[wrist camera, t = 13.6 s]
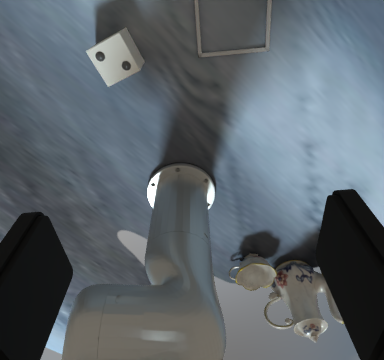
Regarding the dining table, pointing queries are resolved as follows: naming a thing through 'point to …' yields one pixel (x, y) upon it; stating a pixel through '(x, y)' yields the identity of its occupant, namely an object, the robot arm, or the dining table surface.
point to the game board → (230, 52)
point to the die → (116, 57)
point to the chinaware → (290, 292)
